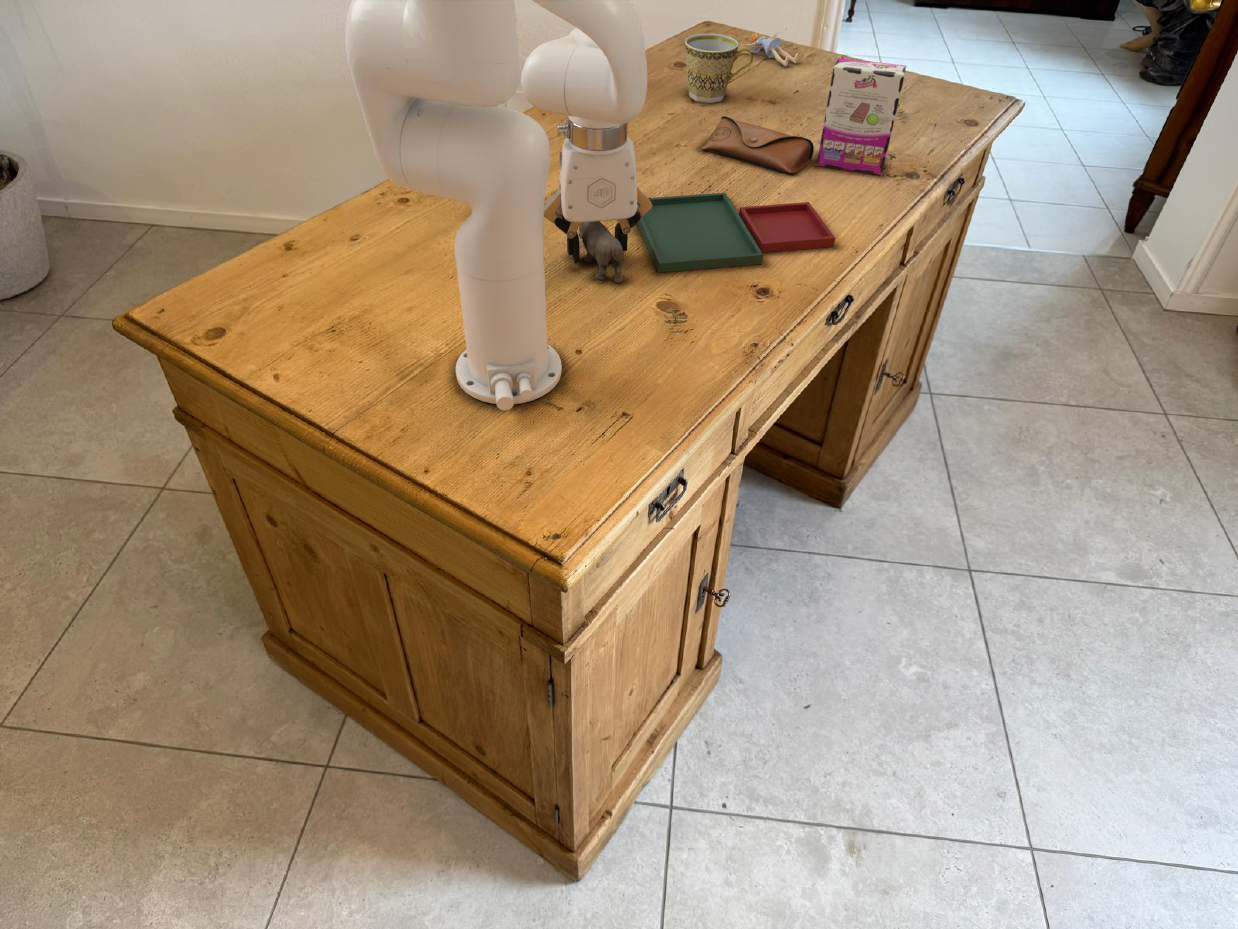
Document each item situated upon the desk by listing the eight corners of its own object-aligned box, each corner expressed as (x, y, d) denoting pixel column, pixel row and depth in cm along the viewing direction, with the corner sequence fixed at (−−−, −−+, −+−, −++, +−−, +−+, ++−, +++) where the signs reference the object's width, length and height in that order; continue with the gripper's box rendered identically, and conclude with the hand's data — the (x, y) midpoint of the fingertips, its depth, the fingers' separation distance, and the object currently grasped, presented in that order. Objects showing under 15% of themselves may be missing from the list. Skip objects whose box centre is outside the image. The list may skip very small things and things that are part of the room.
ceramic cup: (675, 102, 168) (679, 47, 161) (687, 83, 175) (691, 30, 168) (742, 111, 165) (749, 56, 158) (752, 92, 172) (759, 38, 165)
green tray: (761, 263, 125) (763, 254, 124) (658, 272, 123) (658, 263, 122) (724, 201, 139) (725, 192, 138) (630, 207, 137) (630, 198, 136)
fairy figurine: (776, 53, 178) (735, 30, 184) (770, 76, 182) (730, 53, 187) (813, 42, 184) (772, 20, 189) (807, 65, 187) (767, 42, 193)
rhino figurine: (593, 235, 130) (594, 197, 126) (628, 282, 121) (630, 243, 117) (567, 239, 129) (566, 201, 125) (600, 287, 120) (601, 248, 116)
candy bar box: (884, 164, 150) (908, 64, 139) (881, 176, 147) (906, 75, 135) (819, 154, 152) (837, 55, 141) (815, 166, 149) (833, 65, 138)
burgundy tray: (833, 246, 129) (835, 237, 128) (760, 252, 128) (762, 243, 127) (807, 210, 137) (808, 201, 136) (738, 215, 136) (739, 206, 135)
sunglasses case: (697, 148, 152) (710, 108, 150) (711, 155, 158) (723, 117, 156) (794, 174, 145) (808, 133, 143) (804, 181, 151) (818, 142, 150)
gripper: (534, 148, 108) (540, 276, 121) (670, 139, 111) (662, 265, 123) (527, 123, 114) (533, 248, 126) (656, 116, 116) (650, 239, 129)
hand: (597, 255), depth 125 cm, fingers open, 5 cm apart
